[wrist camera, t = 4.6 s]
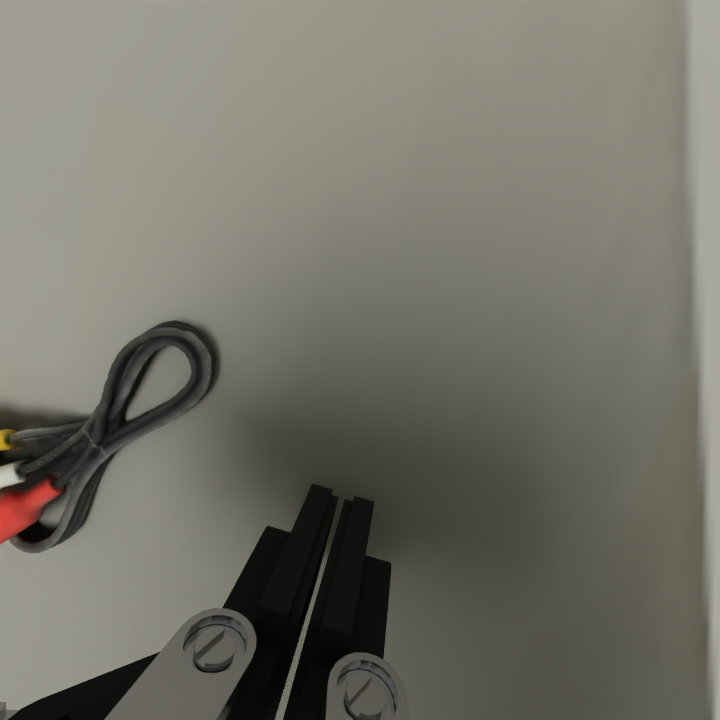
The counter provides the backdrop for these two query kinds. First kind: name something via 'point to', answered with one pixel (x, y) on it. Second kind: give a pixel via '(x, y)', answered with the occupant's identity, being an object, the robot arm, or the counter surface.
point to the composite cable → (90, 440)
